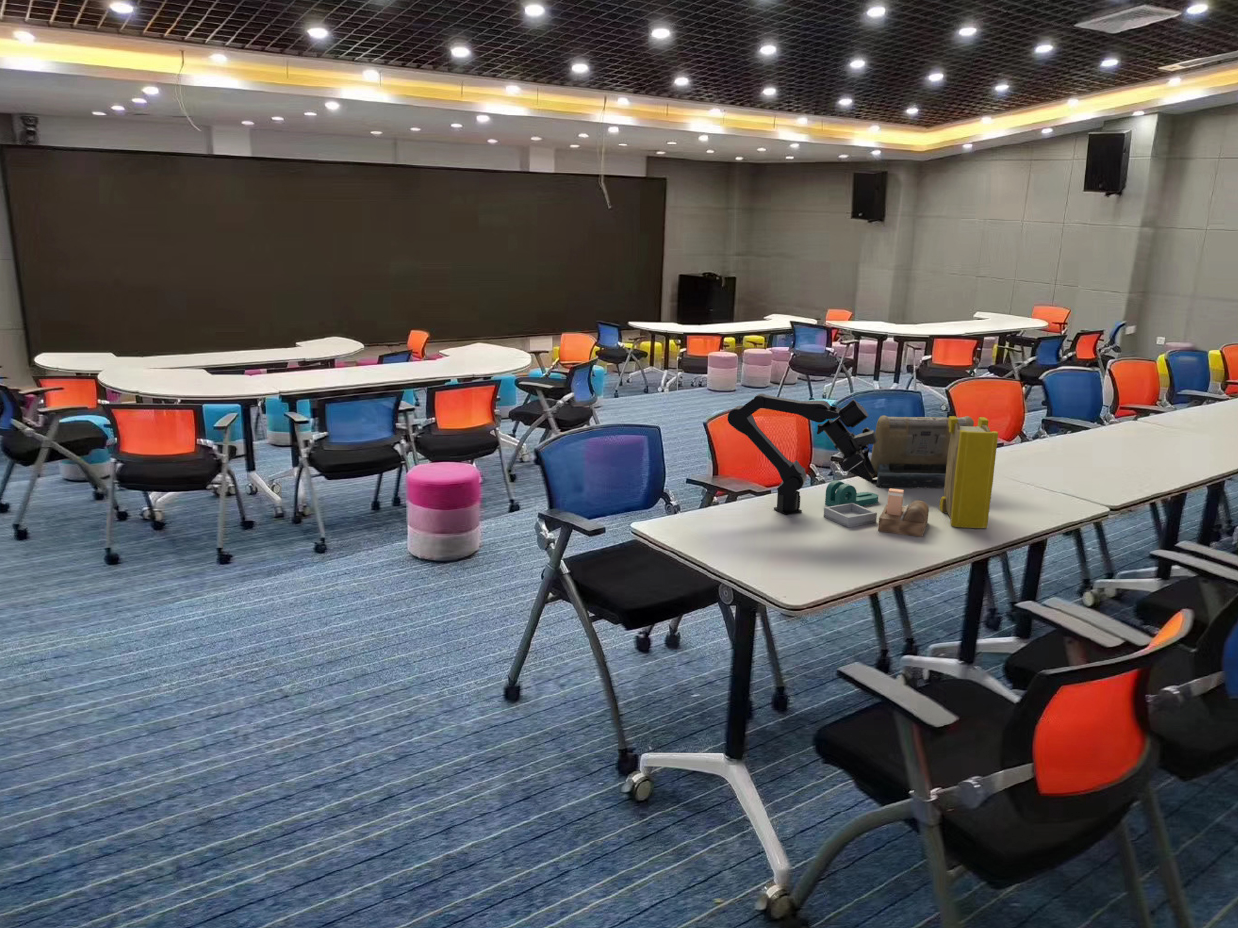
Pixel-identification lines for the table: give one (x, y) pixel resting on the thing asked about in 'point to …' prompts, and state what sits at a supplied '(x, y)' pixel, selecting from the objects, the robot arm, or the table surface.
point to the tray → (850, 514)
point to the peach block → (895, 502)
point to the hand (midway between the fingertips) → (873, 477)
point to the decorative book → (969, 474)
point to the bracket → (847, 495)
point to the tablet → (912, 451)
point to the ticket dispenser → (906, 520)
